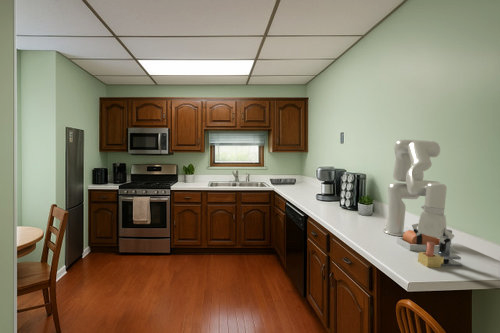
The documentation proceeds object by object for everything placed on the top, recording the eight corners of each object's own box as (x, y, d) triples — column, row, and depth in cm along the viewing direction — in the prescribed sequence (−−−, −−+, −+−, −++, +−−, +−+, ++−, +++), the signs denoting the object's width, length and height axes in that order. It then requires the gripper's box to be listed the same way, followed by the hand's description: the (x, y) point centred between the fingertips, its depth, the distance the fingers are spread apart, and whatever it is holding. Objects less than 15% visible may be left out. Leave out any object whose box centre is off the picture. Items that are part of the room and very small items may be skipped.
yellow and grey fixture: (409, 256, 136) (412, 226, 135) (445, 257, 137) (448, 227, 136) (427, 267, 124) (430, 233, 123) (465, 268, 125) (469, 235, 124)
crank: (411, 249, 147) (412, 234, 147) (402, 243, 155) (403, 229, 155) (447, 250, 148) (448, 235, 148) (436, 245, 156) (437, 231, 156)
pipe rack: (396, 242, 156) (396, 237, 155) (436, 244, 157) (437, 238, 157) (409, 250, 144) (410, 244, 144) (453, 251, 146) (453, 246, 146)
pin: (423, 263, 127) (425, 242, 127) (427, 262, 129) (429, 241, 128) (430, 266, 125) (432, 244, 124) (434, 265, 126) (436, 243, 126)
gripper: (409, 207, 131) (406, 242, 132) (451, 216, 116) (447, 256, 117) (418, 205, 135) (415, 240, 136) (460, 214, 120) (456, 253, 121)
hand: (430, 247), depth 127 cm, fingers open, 9 cm apart
